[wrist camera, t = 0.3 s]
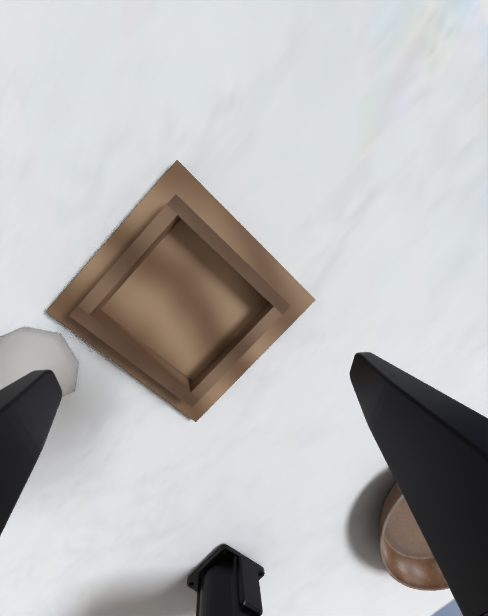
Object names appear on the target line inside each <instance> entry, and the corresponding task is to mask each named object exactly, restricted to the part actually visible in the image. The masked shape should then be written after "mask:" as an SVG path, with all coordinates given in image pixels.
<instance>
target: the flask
mask: <svg viewBox="0 0 488 616" xmlns="http://www.w3.org/2000/svg"><path fill="white" fill-rule="evenodd" d="M78 364H79V362H78V360H77V358H76V357H75V355H74V354H73V352H72V350H71V349H70V347H69V346H68V344H67V343H66V341H65V339H64V338H63V336H62V335H61V334H60V333H55V332H50V331H45V330H39V329H34V328H29V327H22V328H20V329H18V330H15V331H13V332H11V333H8V334H6V335H3V336H1V337H0V390H1V389H3V388H4V387H6V386H8V385H9V384H11V383H13V382H15V381H16V380H18V379H20V378H21V377H23V376H25V375H27V374H28V373H30V372H32V371H34V370H45V369H49V370H52V371H53V372H54V374H55V376H56V378H57V380H58V382H59V385H60V387H61V389H62V396H64V395H66V394H69V393H71V392H73V391H75V385H76V378H77V371H78Z"/></svg>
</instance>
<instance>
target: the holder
mask: <svg viewBox="0 0 488 616" xmlns="http://www.w3.org/2000/svg"><path fill="white" fill-rule="evenodd" d="M314 301H315V299H314V298H313V297H312V296H311V295H310V294H309V293H308V292H307V291H306V290H305V289H304V288H303V287H302V286H301V285H300V284H299V283H298V282H297V281H296V280H295V279H294V277H293V276H292V275H291V274H290V273H289V272H288V271H287V270H286V269H285V268H284V267H283V266H282V265H281V264H280V263H279V262H278V261H277V260H276V259H275V258H274V257H273V256H272V255H271V254H270V253H269V252H268V251H267V250H266V249H265V248H264V247H263V246H262V245H261V244H260V243H259V242H258V241H257V240H256V239H255V238H254V237H253V236H252V235H251V234H250V233H249V232H248V231H247V230H246V229H245V228H244V227H243V226H242V225H241V224H240V223H239V222H238V221H237V220H236V219H235V218H234V217H233V216H232V215H231V214H230V213H229V212H228V211H227V210H226V209H225V208H224V207H223V206H222V205H221V204H220V203H219V202H218V201H217V200H216V199H215V198H214V197H213V196H212V195H211V194H210V193H209V192H208V191H207V190H206V189H205V188H204V187H203V186H202V185H201V183H200V182H199V181H198V180H197V179H196V178H195V177H194V176H193V175H192V174H191V173H190V172H189V171H188V170H187V169H186V168H185V167H184V166H183V165H182V164H181V163H180V162H179V161H178V160H176V161H175V163H174V164H173V165H172V166H171V167H170V168H169V170H168V171H167V172H166V173H165V174H164V175H163V177H162V178H161V179H160V180H159V181H158V182H157V184H156V185H155V186H154V187H153V188H152V189H151V190H150V192H149V193H148V194H147V195H146V196H145V197H144V199H143V200H142V201H141V202H140V203H139V204H138V206H137V207H136V208H135V209H134V210H133V211H132V212H131V214H130V215H129V216H128V217H127V218H126V219H125V221H124V222H123V223H122V224H121V225H120V226H119V228H118V229H117V230H116V231H115V232H114V233H113V234H112V236H111V237H110V238H109V239H108V240H107V241H106V243H105V244H104V245H103V246H102V247H101V248H100V250H99V251H98V252H97V253H96V254H95V255H94V256H93V258H92V259H91V260H90V261H89V262H88V263H87V265H86V266H85V267H84V268H83V269H82V270H81V272H80V273H79V274H78V275H77V276H76V277H75V279H74V280H73V281H72V282H71V283H70V284H69V285H68V287H67V288H66V289H65V290H64V291H63V292H62V294H61V295H60V296H59V297H58V298H57V299H56V301H55V302H54V303H53V304H52V305H51V306H50V307H49V309H48V310H47V311H46V312H48V313H49V314H50V315H52V316H53V317H54V318H56V319H57V320H58V321H60V322H61V323H62V324H64V325H65V326H66V327H68V328H69V329H71V330H72V331H73V332H75V333H76V334H77V335H79V336H80V337H81V338H83V339H84V340H85V341H87V342H88V343H89V344H91V345H92V346H94V347H95V348H96V349H98V350H99V351H100V352H102V353H103V354H104V355H106V356H107V357H108V358H110V359H111V360H112V361H114V362H115V363H116V364H118V365H119V366H121V367H122V368H123V369H125V370H126V371H127V372H129V373H130V374H131V375H133V376H134V377H135V378H137V379H138V380H139V381H141V382H142V383H144V384H145V385H146V386H148V387H149V388H150V389H152V390H153V391H154V392H156V393H157V394H158V395H160V396H161V397H162V398H164V399H165V400H166V401H168V402H169V403H171V404H172V405H173V406H175V407H176V408H177V409H179V410H180V411H181V412H183V413H184V414H185V415H187V416H188V417H189V418H191V419H192V420H194V421H195V422H196V421H197V420H198V419H199V418H200V417H201V416H202V415H203V414H204V413H205V412H206V411H207V410H208V409H209V408H210V407H211V406H212V405H213V404H214V403H215V402H216V401H217V400H218V399H219V398H220V397H221V396H222V395H223V394H224V393H225V392H226V391H227V390H228V389H229V388H230V387H231V386H232V385H233V384H234V383H235V382H236V381H237V380H238V379H239V378H240V377H241V376H242V375H243V374H244V373H245V371H246V370H247V369H248V368H249V367H250V366H251V365H252V364H253V363H254V362H255V361H256V360H257V359H258V358H259V357H260V356H261V355H262V354H263V353H264V352H265V351H266V350H267V349H268V348H269V347H270V346H271V345H272V344H273V343H274V342H275V341H276V340H277V339H278V338H279V337H280V336H281V335H282V334H283V333H284V332H285V331H286V330H287V329H288V328H289V327H290V326H291V325H292V324H293V323H294V322H295V320H296V319H297V318H298V317H299V316H300V315H301V314H302V313H303V312H304V311H305V310H306V309H307V308H308V307H309V306H310V305H311V304H312V303H313V302H314Z"/></svg>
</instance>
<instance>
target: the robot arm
mask: <svg viewBox="0 0 488 616" xmlns="http://www.w3.org/2000/svg"><path fill="white" fill-rule="evenodd" d="M350 379H351V382H352V385H353V387H354V390H355V393H356V395H357V398H358V401H359V403H360V406H361V409H362V411H363V414H364V416H365V419H366V421H367V424H368V426H369V428H370V430H371V432H372V434H373V436H374V438H375V440H376V442H377V444H378V446H379V448H380V450H381V452H382V454H383V456H384V458H385V460H386V462H387V464H388V466H389V468H390V470H391V472H392V474H393V476H394V478H395V480H396V482H397V484H398V486H399V488H400V490H401V492H402V494H403V496H404V498H405V500H406V502H407V504H408V506H409V508H410V510H411V512H412V514H413V516H414V518H415V520H416V522H417V524H418V526H419V528H420V530H421V532H422V534H423V536H424V538H425V540H426V542H427V544H428V546H429V548H430V550H431V552H432V554H433V556H434V558H435V560H436V562H437V564H438V566H439V568H440V570H441V572H442V574H443V576H444V578H445V580H446V582H447V584H448V586H449V588H450V590H451V592H452V594H453V596H454V598H455V600H456V602H457V604H458V606H459V608H460V610H461V612H462V614H463V616H488V418H486V417H484V416H483V415H481V414H479V413H477V412H476V411H474V410H472V409H470V408H468V407H467V406H465V405H463V404H461V403H460V402H458V401H456V400H454V399H452V398H451V397H449V396H447V395H445V394H444V393H442V392H440V391H438V390H436V389H435V388H433V387H431V386H429V385H428V384H426V383H424V382H422V381H420V380H419V379H417V378H415V377H413V376H411V375H410V374H408V373H406V372H404V371H403V370H401V369H399V368H397V367H395V366H394V365H392V364H390V363H388V362H387V361H385V360H383V359H381V358H379V357H378V356H376V355H374V354H372V353H370V352H359V353H356V354H355V356H354V360H353V363H352V366H351V370H350ZM61 398H62V389H61V387H60V385H59V382H58V380H57V378H56V376H55V374H54V372H53V371H52V370H49V369H45V370H34V371H32V372H30V373H28V374H27V375H25V376H23V377H21V378H20V379H18V380H16V381H15V382H13V383H11V384H9V385H8V386H6V387H4V388H3V389H1V390H0V535H1V533H2V531H3V529H4V527H5V525H6V523H7V521H8V519H9V517H10V515H11V513H12V511H13V509H14V507H15V505H16V503H17V501H18V499H19V497H20V495H21V492H22V490H23V488H24V486H25V484H26V482H27V480H28V478H29V476H30V474H31V472H32V470H33V468H34V466H35V464H36V462H37V460H38V458H39V455H40V453H41V451H42V449H43V446H44V444H45V441H46V439H47V436H48V433H49V431H50V428H51V425H52V423H53V420H54V417H55V415H56V412H57V409H58V406H59V404H60V401H61ZM264 574H265V573H264V568H263V567H261V566H260V565H258V564H257V563H255V562H253V561H252V560H250V559H249V558H247V557H245V556H244V555H242V554H241V553H239V552H237V551H236V550H234V549H233V548H231V547H229V546H228V545H223V546H221V547H220V548H219V549H218V550H217V551H216V552H215V553H214V554H213V555H212V556H211V557H210V558H209V559H208V560H207V561H206V562H205V563H203V564H202V565H201V566H200V567H199V568H198V569H197V570H196V571H195V572H194V573H193V574H192V575H191V576H190V577H189V578H188V580H187V586H188V587H190V588H192V589H193V590H195V591H197V608H196V616H261V615H262V602H261V594H260V586H259V580H260V579H261V578H262V577H263V576H264Z"/></svg>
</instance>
